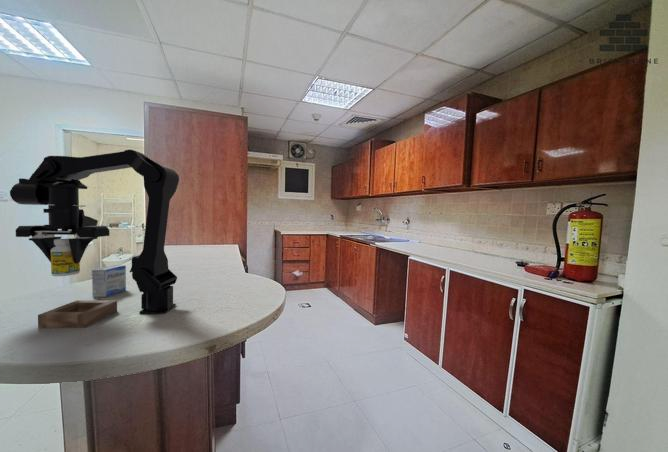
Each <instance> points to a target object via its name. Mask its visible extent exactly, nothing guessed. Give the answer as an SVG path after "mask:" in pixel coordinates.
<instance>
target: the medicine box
mask: <svg viewBox="0 0 668 452" xmlns="http://www.w3.org/2000/svg"><path fill="white" fill-rule="evenodd" d="M126 266H127V265H122V264H121V265H119V264H116V265H115V264H114V265H110V266H109V265H108V266H104V267H101V268H97V269H92V270H91V279H92V281H91V285H92V287H91V288H92V291H91V292H92V298H93V297H94V298H108V297H110V296H114V295H116V294H119V293H122V292H125V291H126V290H127V286H126V285H127V283H126V282H127V270H126V269H127V267H126Z"/></svg>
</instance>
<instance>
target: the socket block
mask: <svg viewBox="0 0 668 452" xmlns="http://www.w3.org/2000/svg"><path fill="white" fill-rule="evenodd" d="M117 312H118V300H117V299H116V300H110V299H108V300H107V299H106V300H105V299H104V300H101V299H100V300H93V299H92V300H90V299H89V300H88V299H87V300H74V301H70V302H69V303H67V304H66V303H65V304H64V305H61V306H59V307H55V308H53V309H50V310H47V311H45V312H42V313H39V314H38V315H37V328H38V329H40V328H41V329H50V328H52V329H54V328H55V329H56V328H57V329H58V328H62V329H63V328H87V327H89V326H91V325H93V324H95V323H97V322H99V321H101V320H103V319H105V318H106V317H109V316H110V315H113V314H115V313H117Z"/></svg>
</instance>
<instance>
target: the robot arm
mask: <svg viewBox="0 0 668 452" xmlns="http://www.w3.org/2000/svg"><path fill="white" fill-rule="evenodd" d="M130 168H132V169H133V170H134V171H135V173H137V174H139V175H140V176H141V177H142V178H143V187H144V190H145V192H146V194H147V197H148V202H147V210H146V219H145V230H144V237H143V246H142V251H141V252H140V254H139V255H135V256H132V258H131V267H130V270H129V273H131V278H132V280H134V281H135V283H136V285H137V289H138V290H139V292H140V293H141V295H140V296H141V310H140V311H139V312H138V313H139V314H142V315H143V314H146V315H147V314H165V313H167V312H170V311H171V309H173V308H174V307H176V305H177V303H174V285H175V284H176V282H177V280H178V276H177V275H176V274H175V273H174V272H172V270H171V269H170V268H169V260H168V258H167V254H166V252H165V244H166V234H167V227H168V217H169V210H170V209H169V208H170V202H171V199H172V198H173V197H174V194H175V193H176V192H177V189H178V185H179V183H180V176H179V174H178V173H177V171H176V170H174V169H172V168H168V167H165V166H162V165H161V164H159V163H157V162H155V161H154V160H153V159H152V158H149V157H148V156H147V155H145V154H144V153H142V152H140V151H136V150H134V149H130V148H129V149H125V150H122V151H117V152H116V151H115V152H108V153H102V154H95V155H89V156H81V157H80V156H69V155H68V156H67V155H47V156H45V157H44V158H43V160H42V162H40V164H39V166H38V167H37V168H36V169H35V171H34V172H33V173H32V174H31V175H30V177H29V178H18V182H17V183H16V184H13V186H12V187H11V189H10V191H9V195H10V198H11V199H12V201H13V202H15V203H16V204H19V205H28V206H29V205H30V206H31V205H32V206H33V205H36V206H37V205H38V206H47V205H48V206H47V208H43V214H44V213H45V214H48V224H43V225H42V224H39V225H38V224H33V225H19V226H18V227H17V228H15V237H16V238H28V240H29V241H32V242H33V243H34V244H35V245H36V246H37V247H38V248H39V250H41V252H42V253H43V255H44V256H45V257H46V258H47V260H48V261H49V262H50V263H51V249H52V248H53V247H56V245H54V239H62V235H67V236H68V235H69V236H75V238H74V237H73V238H68V239H69V244H70V248H71V252H72V257H73V260H74V263H75V264H77V263H81V260H82V258H83V256H84V254H85V252H86V249H87V248H88V246H89V244H90V243H91V242H92V241H93V240H98V238H100V237H110V228H108V227H107V225H98V224H99V223H98V222H99V220H98V219H95V218H93V217H90V216H88V215H85V211H84V209H80V196H79V194H80V193H79V190H87V189H88V186H87V185H85V184H84V183H83V182H81V180H83V179H86V178H88V177H90V175H92V174H95V173H102V172H110V171H116V170H117V171H118V170H123V169H130ZM55 235H56V236H55ZM58 235H61V236H58ZM29 237H30V238H29Z"/></svg>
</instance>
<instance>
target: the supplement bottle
mask: <svg viewBox="0 0 668 452" xmlns="http://www.w3.org/2000/svg"><path fill="white" fill-rule="evenodd" d="M69 239H70V238H61V239H54V245H56V247H53V248H52V249H51V262H50V268H51V270H50V271H51V272H50V273H51V276H53V277H67V276H68V277H69V276H73V275H77V274H80V272H81V267H80V266H81V265H80V263H81V262H80V263H77V264H75V263H74V260H73V257H72V252H71V248H70V244H69Z"/></svg>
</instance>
